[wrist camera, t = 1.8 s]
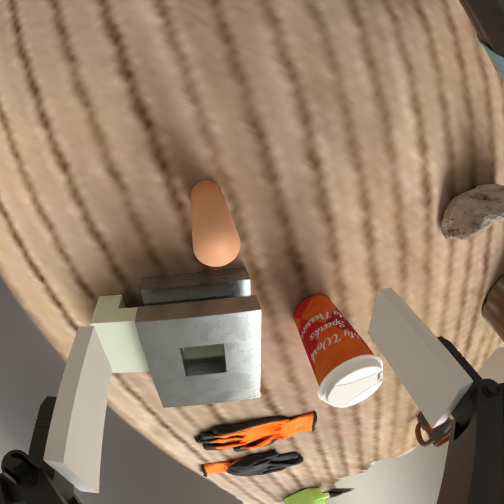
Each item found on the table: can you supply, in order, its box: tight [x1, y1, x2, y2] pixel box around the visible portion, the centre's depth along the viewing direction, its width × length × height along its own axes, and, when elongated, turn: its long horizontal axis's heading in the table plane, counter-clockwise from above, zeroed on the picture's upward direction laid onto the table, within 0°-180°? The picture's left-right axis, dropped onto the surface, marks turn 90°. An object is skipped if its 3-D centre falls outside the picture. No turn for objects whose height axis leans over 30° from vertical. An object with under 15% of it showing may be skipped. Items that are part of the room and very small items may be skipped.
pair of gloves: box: [195, 412, 317, 477], centre depth 56 cm, size 27×24×3 cm
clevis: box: [135, 268, 261, 408], centre depth 35 cm, size 14×12×8 cm
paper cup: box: [294, 295, 383, 407], centre depth 35 cm, size 8×8×14 cm
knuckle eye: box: [90, 295, 224, 373], centre depth 35 cm, size 8×16×5 cm, turn 91°
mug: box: [415, 412, 452, 447], centre depth 65 cm, size 9×12×12 cm
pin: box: [191, 180, 240, 267], centre depth 26 cm, size 3×3×12 cm
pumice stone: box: [441, 184, 504, 240], centre depth 35 cm, size 15×8×10 cm, turn 103°
